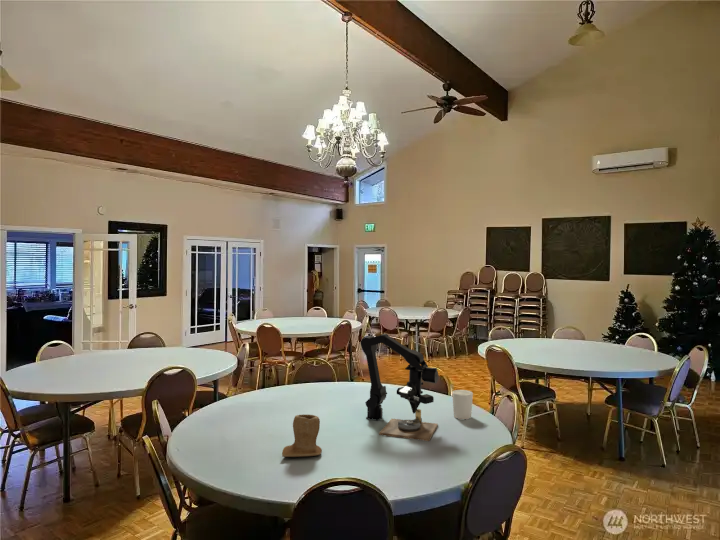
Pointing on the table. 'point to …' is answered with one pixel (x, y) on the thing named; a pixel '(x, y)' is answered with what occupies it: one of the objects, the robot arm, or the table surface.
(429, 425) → the base plate
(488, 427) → the table surface
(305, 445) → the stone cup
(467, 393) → the candle holder
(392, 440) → the table surface
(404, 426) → the dial
